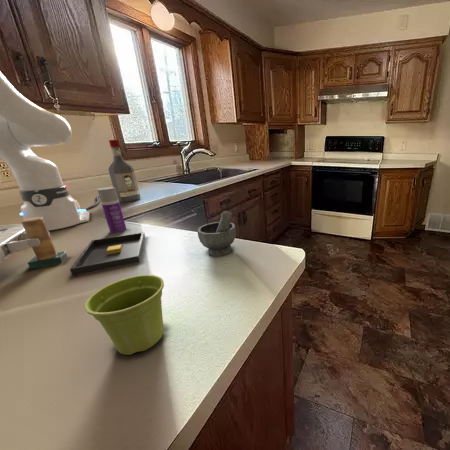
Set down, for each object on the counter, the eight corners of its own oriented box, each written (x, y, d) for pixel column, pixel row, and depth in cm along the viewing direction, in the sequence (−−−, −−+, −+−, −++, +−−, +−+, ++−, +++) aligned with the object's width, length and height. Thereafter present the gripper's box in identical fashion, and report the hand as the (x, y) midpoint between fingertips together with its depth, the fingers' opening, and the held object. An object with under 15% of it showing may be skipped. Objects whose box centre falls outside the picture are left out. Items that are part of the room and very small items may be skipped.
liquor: (115, 200, 128) (98, 140, 118) (134, 197, 135) (119, 140, 125) (123, 202, 123) (106, 140, 113) (142, 199, 130) (128, 139, 120)
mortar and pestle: (194, 253, 66) (186, 210, 62) (222, 241, 74) (217, 202, 70) (220, 263, 60) (213, 217, 56) (248, 250, 67) (244, 208, 63)
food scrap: (109, 250, 68) (108, 246, 68) (122, 248, 69) (121, 244, 69) (107, 254, 65) (106, 250, 65) (120, 252, 67) (119, 248, 66)
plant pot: (88, 354, 35) (67, 304, 32) (147, 313, 44) (135, 270, 41) (133, 374, 32) (115, 321, 29) (187, 325, 40) (177, 280, 37)
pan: (93, 246, 72) (91, 240, 71) (145, 238, 78) (144, 231, 77) (72, 277, 56) (69, 269, 55) (140, 263, 61) (138, 255, 61)
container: (118, 234, 81) (105, 190, 76) (106, 234, 82) (93, 189, 77) (130, 229, 85) (118, 187, 80) (119, 229, 86) (106, 186, 81)
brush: (37, 263, 63) (18, 218, 59) (68, 257, 65) (51, 215, 61) (30, 270, 59) (9, 223, 55) (62, 264, 62) (45, 219, 58)
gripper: (-87, 255, 45) (18, 240, 51) (-17, 223, 62) (55, 215, 68) (-68, 284, 47) (30, 267, 53) (-6, 246, 64) (63, 236, 70)
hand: (44, 237), depth 60 cm, fingers closed on brush, 3 cm apart
